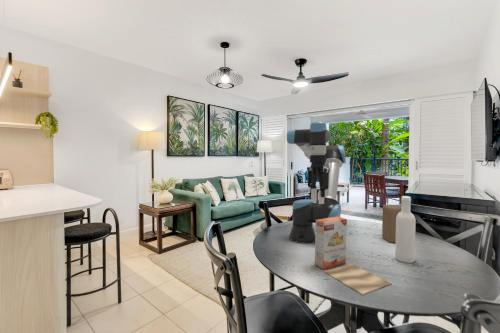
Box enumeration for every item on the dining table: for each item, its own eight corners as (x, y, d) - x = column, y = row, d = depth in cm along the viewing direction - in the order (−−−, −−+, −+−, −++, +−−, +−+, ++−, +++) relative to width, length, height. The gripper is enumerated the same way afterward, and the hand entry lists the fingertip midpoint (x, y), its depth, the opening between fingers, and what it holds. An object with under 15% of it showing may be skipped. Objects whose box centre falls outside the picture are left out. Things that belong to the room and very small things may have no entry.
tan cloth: (324, 272, 104) (324, 271, 104) (351, 264, 111) (351, 263, 111) (362, 295, 87) (362, 293, 87) (391, 284, 94) (391, 283, 94)
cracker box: (324, 270, 105) (324, 222, 104) (314, 264, 111) (314, 219, 110) (346, 263, 112) (347, 218, 111) (336, 258, 117) (337, 215, 116)
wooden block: (398, 237, 147) (399, 204, 146) (407, 243, 137) (408, 208, 136) (381, 237, 148) (382, 204, 147) (389, 243, 138) (389, 207, 137)
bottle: (391, 257, 118) (392, 196, 117) (402, 254, 121) (403, 194, 120) (407, 264, 111) (409, 198, 109) (418, 261, 114) (420, 197, 112)
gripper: (300, 154, 123) (299, 200, 124) (325, 154, 107) (324, 207, 109) (311, 154, 127) (311, 199, 128) (337, 154, 111) (337, 205, 112)
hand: (317, 202), depth 118 cm, fingers open, 4 cm apart
